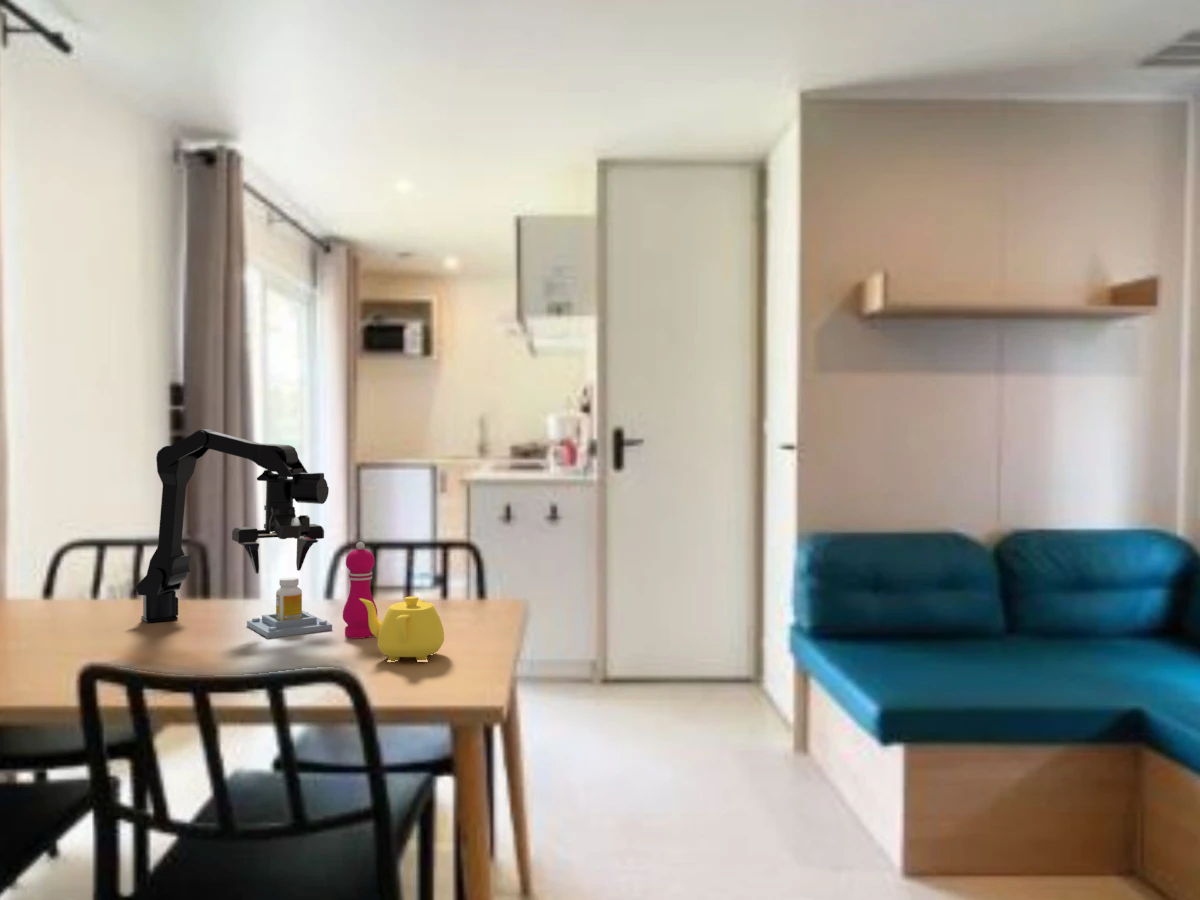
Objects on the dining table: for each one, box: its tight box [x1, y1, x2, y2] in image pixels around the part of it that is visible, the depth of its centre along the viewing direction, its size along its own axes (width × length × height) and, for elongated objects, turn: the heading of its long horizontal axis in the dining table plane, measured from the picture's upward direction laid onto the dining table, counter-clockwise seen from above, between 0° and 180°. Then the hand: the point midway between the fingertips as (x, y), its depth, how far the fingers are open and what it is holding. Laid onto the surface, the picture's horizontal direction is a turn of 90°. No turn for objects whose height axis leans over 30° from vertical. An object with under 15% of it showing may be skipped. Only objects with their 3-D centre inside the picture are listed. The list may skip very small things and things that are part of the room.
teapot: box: [360, 596, 445, 661], centre depth 184 cm, size 14×14×12 cm
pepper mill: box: [342, 541, 378, 639], centre depth 202 cm, size 7×7×20 cm
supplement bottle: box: [275, 576, 303, 621], centre depth 208 cm, size 5×5×10 cm
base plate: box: [246, 610, 333, 639], centre depth 208 cm, size 14×14×3 cm
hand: (278, 571), depth 210 cm, fingers open, 9 cm apart
